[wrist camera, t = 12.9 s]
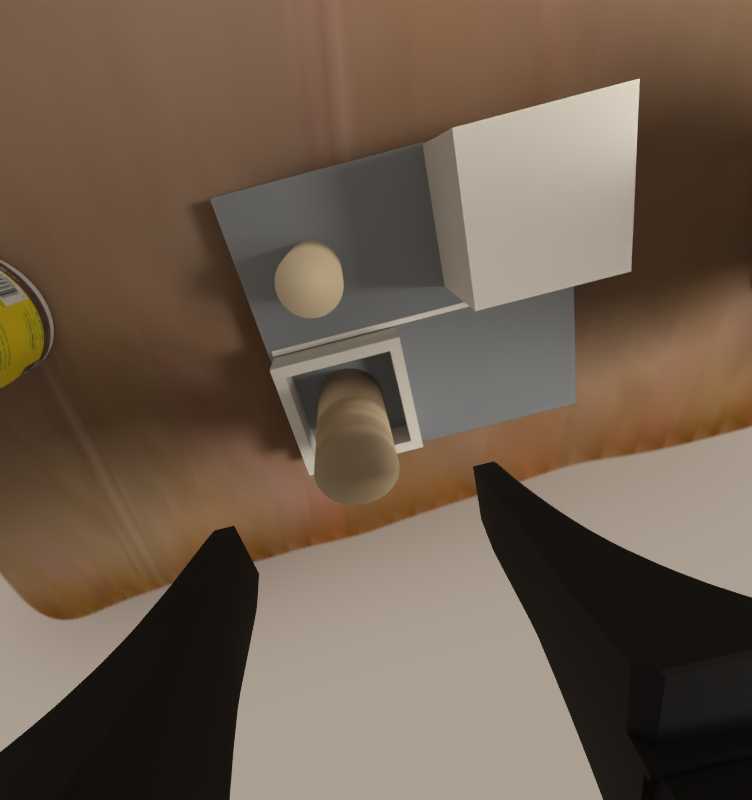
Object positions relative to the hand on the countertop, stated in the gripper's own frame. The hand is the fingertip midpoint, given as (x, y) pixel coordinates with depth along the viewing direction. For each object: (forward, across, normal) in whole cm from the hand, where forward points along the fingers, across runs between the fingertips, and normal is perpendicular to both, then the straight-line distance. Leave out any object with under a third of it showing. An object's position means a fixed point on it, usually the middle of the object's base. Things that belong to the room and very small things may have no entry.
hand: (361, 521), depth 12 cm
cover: (+9, -8, -7) cm, 14 cm away
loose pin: (+9, 0, 0) cm, 9 cm away
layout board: (+10, -4, -3) cm, 11 cm away
